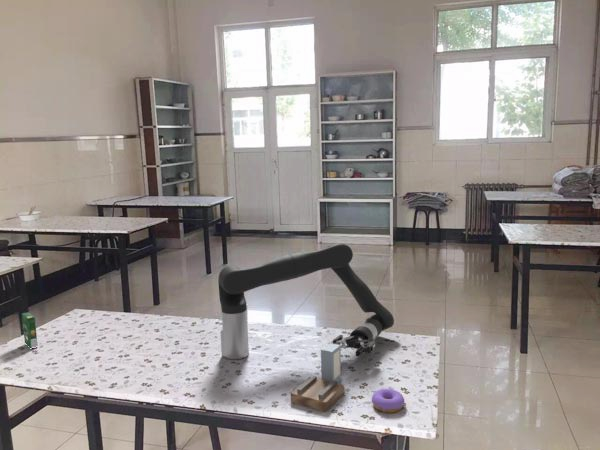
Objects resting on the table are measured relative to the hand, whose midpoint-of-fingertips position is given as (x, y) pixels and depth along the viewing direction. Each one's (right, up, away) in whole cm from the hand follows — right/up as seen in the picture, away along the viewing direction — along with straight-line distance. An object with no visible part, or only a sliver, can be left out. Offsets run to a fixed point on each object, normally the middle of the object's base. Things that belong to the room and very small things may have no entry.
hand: (345, 351), depth 171 cm
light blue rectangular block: (-5, -8, -8) cm, 12 cm away
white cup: (-41, -1, +44) cm, 61 cm away
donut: (+10, -10, -23) cm, 27 cm away
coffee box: (-122, -6, +30) cm, 126 cm away
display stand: (-10, -10, -18) cm, 22 cm away
